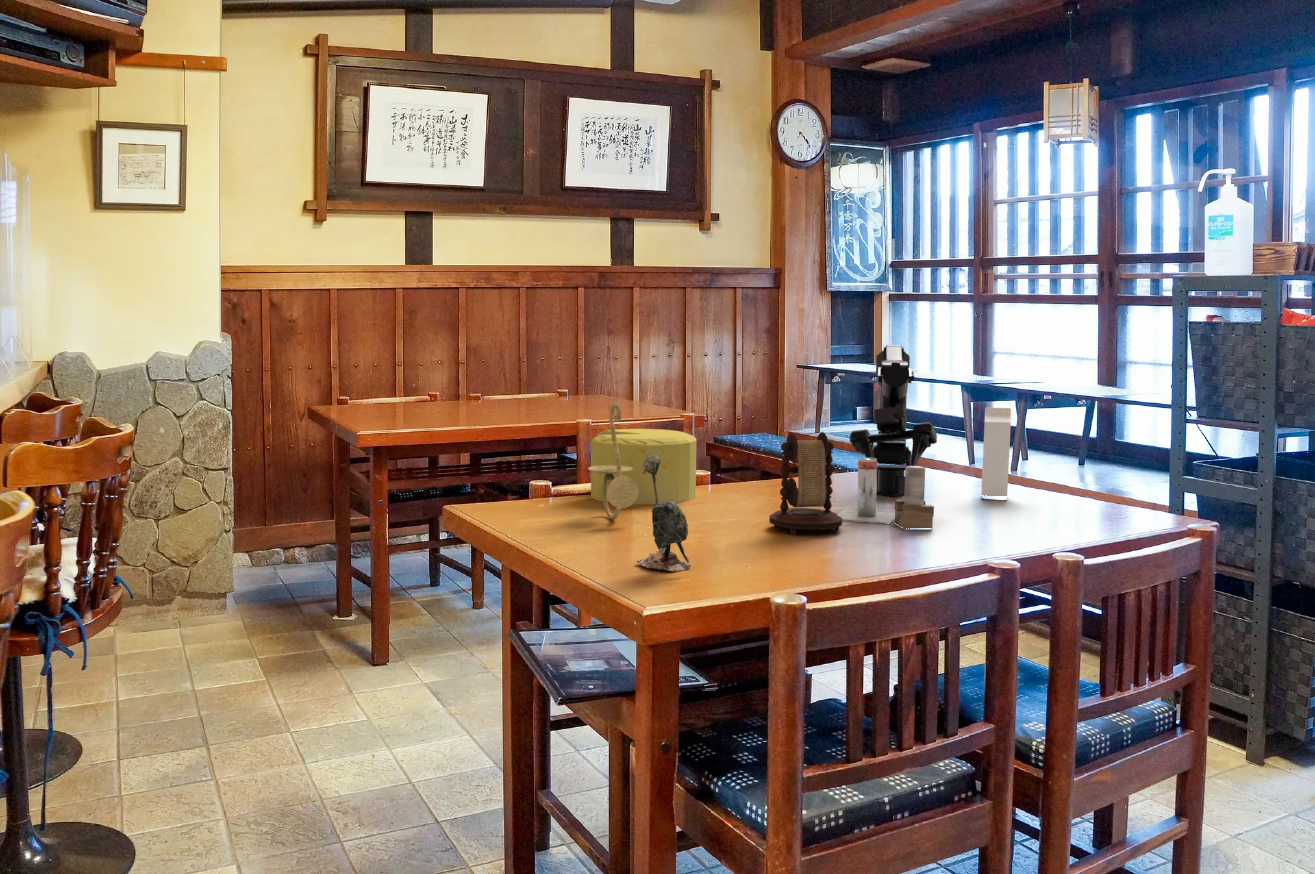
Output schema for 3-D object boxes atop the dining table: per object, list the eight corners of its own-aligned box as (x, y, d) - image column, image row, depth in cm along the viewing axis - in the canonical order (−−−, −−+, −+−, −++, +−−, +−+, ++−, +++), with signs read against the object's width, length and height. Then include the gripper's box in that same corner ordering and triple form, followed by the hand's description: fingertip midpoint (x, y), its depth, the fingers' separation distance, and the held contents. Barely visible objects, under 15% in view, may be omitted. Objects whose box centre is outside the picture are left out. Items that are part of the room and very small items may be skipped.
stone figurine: (659, 577, 183) (660, 458, 180) (631, 563, 193) (632, 450, 190) (702, 573, 186) (704, 456, 184) (673, 559, 196) (674, 448, 194)
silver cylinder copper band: (858, 513, 241) (859, 457, 240) (877, 514, 240) (878, 457, 239) (855, 516, 238) (856, 459, 236) (874, 517, 236) (875, 460, 235)
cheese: (565, 493, 266) (565, 432, 265) (647, 483, 284) (647, 425, 282) (635, 508, 247) (636, 442, 245) (718, 497, 264) (719, 434, 263)
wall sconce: (644, 524, 228) (645, 404, 226) (600, 526, 225) (601, 405, 222) (624, 512, 241) (625, 399, 239) (582, 514, 238) (583, 399, 236)
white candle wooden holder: (893, 523, 233) (895, 464, 231) (921, 523, 233) (924, 464, 232) (904, 530, 225) (906, 470, 224) (933, 530, 225) (935, 470, 224)
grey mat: (844, 511, 247) (844, 509, 246) (898, 515, 242) (898, 513, 242) (833, 520, 235) (833, 518, 235) (890, 524, 231) (890, 522, 231)
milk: (981, 495, 270) (984, 406, 268) (1007, 497, 268) (1010, 407, 266) (981, 499, 264) (984, 408, 262) (1007, 501, 263) (1011, 408, 260)
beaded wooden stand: (785, 538, 216) (787, 437, 214) (758, 524, 230) (760, 429, 228) (854, 535, 220) (857, 435, 218) (823, 521, 234) (826, 428, 232)
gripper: (843, 397, 251) (840, 457, 244) (925, 386, 243) (925, 448, 236) (858, 421, 260) (855, 480, 252) (937, 411, 252) (937, 472, 244)
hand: (892, 470), depth 246 cm, fingers open, 9 cm apart
